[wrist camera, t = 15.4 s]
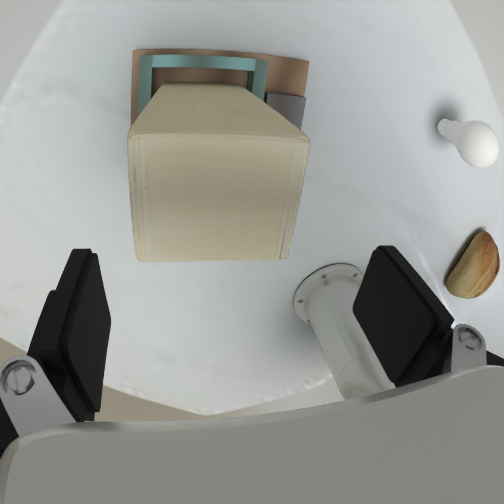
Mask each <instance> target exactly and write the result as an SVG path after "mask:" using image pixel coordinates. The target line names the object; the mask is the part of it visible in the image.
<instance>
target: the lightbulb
mask: <svg viewBox="0 0 504 504" xmlns="http://www.w3.org/2000/svg"><path fill="white" fill-rule="evenodd" d="M438 132H439V133H440V134H441V135H443V136H444V137H446V138H447V139H448V141H450V142H451V143H453V144H454V145H455V146H456V148H457V150H458V152H459V154H460V156H461V157H462V159H463V160H464V161H465V162H466V163H467V164H469V165H470V166H472V167H475V168H486V167H488V166H490V165H492V164H493V163H494V162H495V160H496V159H497V157H498V154H499V148H500V145H499V140H498V137H497V135H496V133H495V131H494V130H493V129H492V128H491V127H490V126H489V125H488V124H486V123H484V122H481V121H469V122H466V123H460V122H457V121H451V120H448V119H442V120H440V121H439V123H438Z"/></svg>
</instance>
